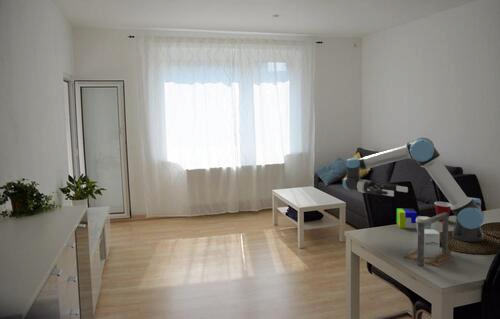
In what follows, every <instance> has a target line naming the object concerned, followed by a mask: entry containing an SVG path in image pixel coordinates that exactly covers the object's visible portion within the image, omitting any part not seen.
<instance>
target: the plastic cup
mask: <svg viewBox="0 0 500 319" xmlns="http://www.w3.org/2000/svg"><path fill="white" fill-rule="evenodd" d="M433 204H434V208H435V213H436V215H439V214H441V213H444V212H447V213H449V215H450V213H451V211H452V210H451V203H450V202H446V201H435V202H433ZM436 215H435V216H436ZM438 222H440V223H443V219H442V220H439V221H438Z"/></svg>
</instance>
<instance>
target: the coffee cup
mask: <svg viewBox="0 0 500 319" xmlns="http://www.w3.org/2000/svg"><path fill="white" fill-rule="evenodd" d="M429 218H431V217H429V216H426V215H424V216H423V215H422V216H421V215H417V218H416V225H417V228H416V232H417V235H418V223H419V222H421V221H424V220H426V219H429ZM431 228H432V224H430V225H427V226H425V227H424V229H431Z"/></svg>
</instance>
